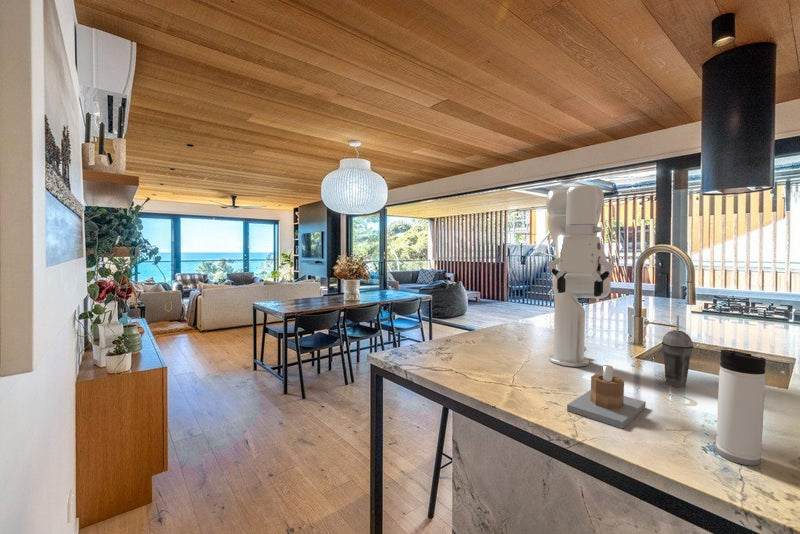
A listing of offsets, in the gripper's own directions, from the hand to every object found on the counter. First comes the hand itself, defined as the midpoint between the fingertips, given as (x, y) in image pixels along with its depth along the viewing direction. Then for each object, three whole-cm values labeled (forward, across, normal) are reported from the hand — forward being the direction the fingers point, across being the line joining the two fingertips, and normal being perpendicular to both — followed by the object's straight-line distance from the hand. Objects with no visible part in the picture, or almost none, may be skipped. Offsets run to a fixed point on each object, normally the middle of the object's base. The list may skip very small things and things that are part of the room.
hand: (579, 294), depth 103 cm
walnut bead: (+24, -11, +9) cm, 28 cm away
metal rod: (+25, -11, +9) cm, 28 cm away
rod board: (+26, -11, +9) cm, 30 cm away
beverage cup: (+26, -18, -23) cm, 39 cm away
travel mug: (+26, -35, +13) cm, 46 cm away
